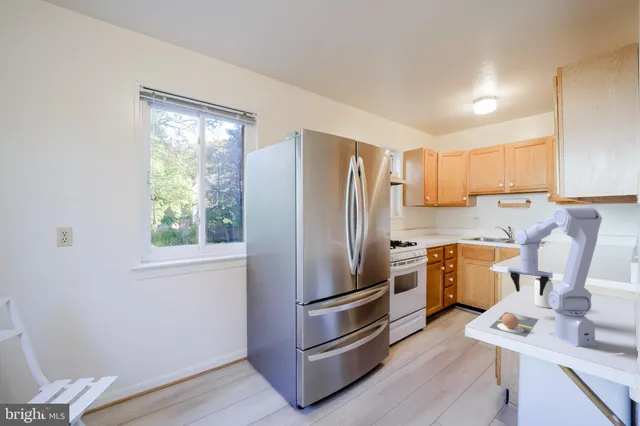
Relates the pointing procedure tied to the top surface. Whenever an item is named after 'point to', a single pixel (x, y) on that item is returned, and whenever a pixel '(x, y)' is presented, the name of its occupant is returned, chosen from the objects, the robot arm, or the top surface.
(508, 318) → the ball
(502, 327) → the white disc
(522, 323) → the mat
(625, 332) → the top surface
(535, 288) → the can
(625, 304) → the top surface
